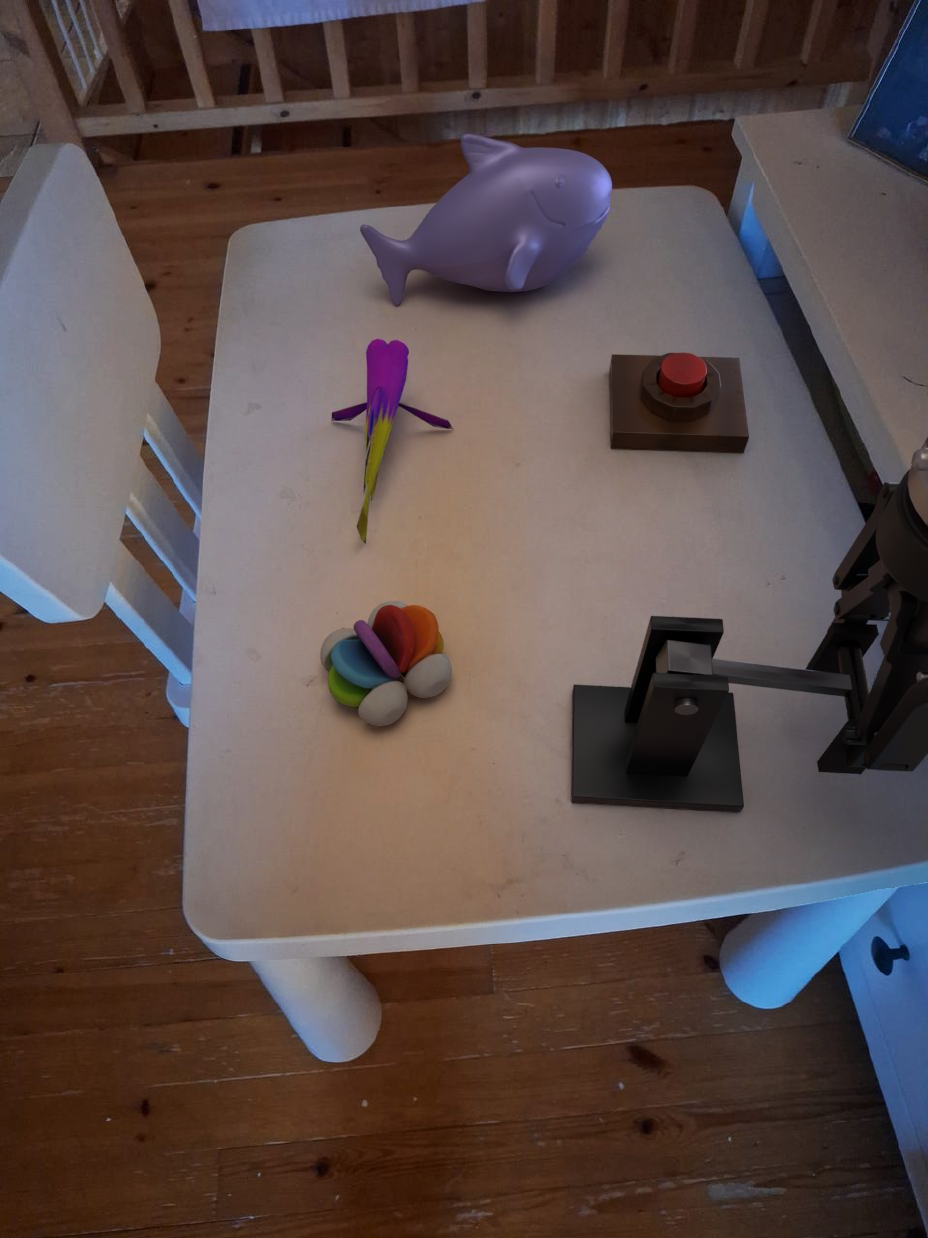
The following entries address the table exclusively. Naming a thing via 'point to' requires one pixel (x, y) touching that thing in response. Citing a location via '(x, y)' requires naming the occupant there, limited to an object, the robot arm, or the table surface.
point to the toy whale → (503, 220)
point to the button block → (676, 408)
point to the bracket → (659, 732)
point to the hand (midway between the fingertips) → (831, 720)
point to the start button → (682, 375)
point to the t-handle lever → (774, 672)
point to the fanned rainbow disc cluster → (386, 661)
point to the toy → (382, 410)
